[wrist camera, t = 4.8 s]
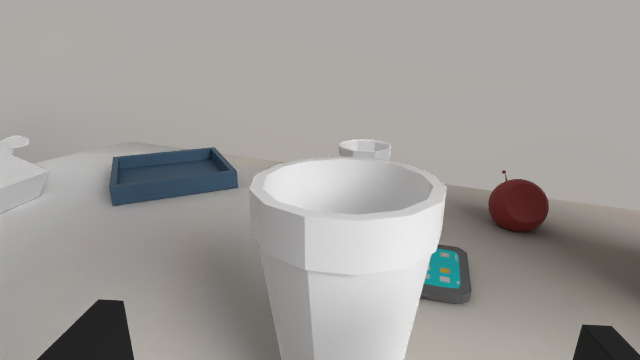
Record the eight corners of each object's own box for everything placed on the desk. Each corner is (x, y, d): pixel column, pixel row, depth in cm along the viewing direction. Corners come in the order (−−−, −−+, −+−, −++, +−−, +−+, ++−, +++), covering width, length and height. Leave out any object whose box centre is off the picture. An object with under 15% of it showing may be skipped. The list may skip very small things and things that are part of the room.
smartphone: (319, 226, 41) (466, 245, 37) (319, 234, 41) (465, 254, 37) (291, 266, 33) (472, 297, 29) (291, 276, 33) (471, 308, 29)
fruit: (532, 235, 46) (529, 171, 47) (557, 232, 40) (552, 160, 42) (480, 232, 47) (479, 170, 48) (497, 229, 41) (495, 158, 43)
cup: (326, 206, 49) (327, 146, 47) (360, 185, 57) (362, 133, 55) (376, 218, 46) (380, 154, 43) (404, 194, 54) (408, 138, 51)
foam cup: (417, 341, 26) (436, 161, 22) (428, 483, 17) (463, 229, 13) (285, 323, 28) (280, 153, 24) (236, 445, 19) (214, 209, 15)
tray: (237, 187, 56) (236, 171, 55) (112, 205, 49) (109, 187, 48) (215, 160, 70) (214, 147, 69) (115, 172, 63) (113, 157, 63)
